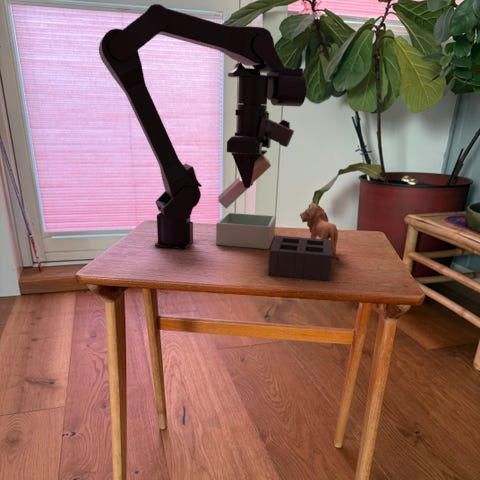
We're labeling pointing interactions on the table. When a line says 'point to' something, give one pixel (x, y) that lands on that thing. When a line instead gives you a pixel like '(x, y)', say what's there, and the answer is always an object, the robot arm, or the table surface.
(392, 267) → the table surface
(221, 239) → the tub
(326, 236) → the lion figurine
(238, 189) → the pink rectangular bar
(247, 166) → the robot arm
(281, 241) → the caddy
